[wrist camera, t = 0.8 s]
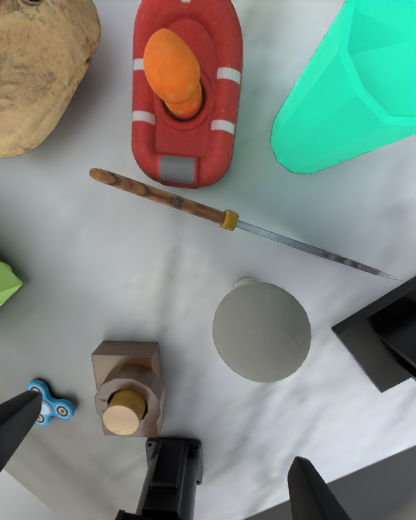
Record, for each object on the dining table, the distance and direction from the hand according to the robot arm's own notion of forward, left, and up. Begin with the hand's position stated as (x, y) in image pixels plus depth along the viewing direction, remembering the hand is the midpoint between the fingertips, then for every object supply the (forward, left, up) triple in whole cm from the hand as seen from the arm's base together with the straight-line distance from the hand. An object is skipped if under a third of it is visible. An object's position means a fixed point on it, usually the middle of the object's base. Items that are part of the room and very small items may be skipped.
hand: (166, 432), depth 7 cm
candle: (+13, -9, -14) cm, 21 cm away
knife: (+6, -5, -14) cm, 16 cm away
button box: (-11, +8, -14) cm, 19 cm away
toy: (-15, +18, -13) cm, 27 cm away
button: (-10, +7, -10) cm, 16 cm away
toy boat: (+15, +1, -14) cm, 20 cm away
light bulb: (0, -4, -14) cm, 15 cm away
